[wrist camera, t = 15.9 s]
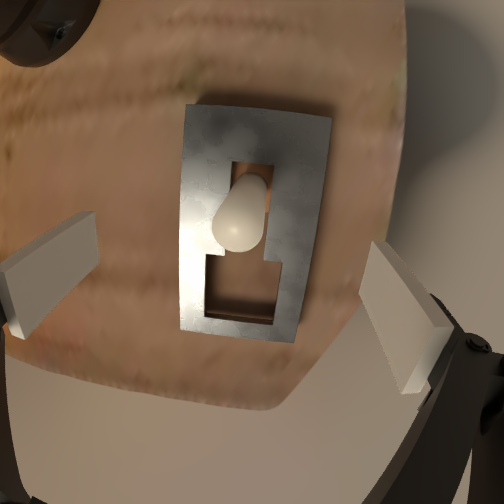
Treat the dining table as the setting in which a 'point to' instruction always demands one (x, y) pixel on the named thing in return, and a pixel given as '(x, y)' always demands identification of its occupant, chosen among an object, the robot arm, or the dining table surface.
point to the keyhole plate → (280, 211)
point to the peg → (244, 207)
